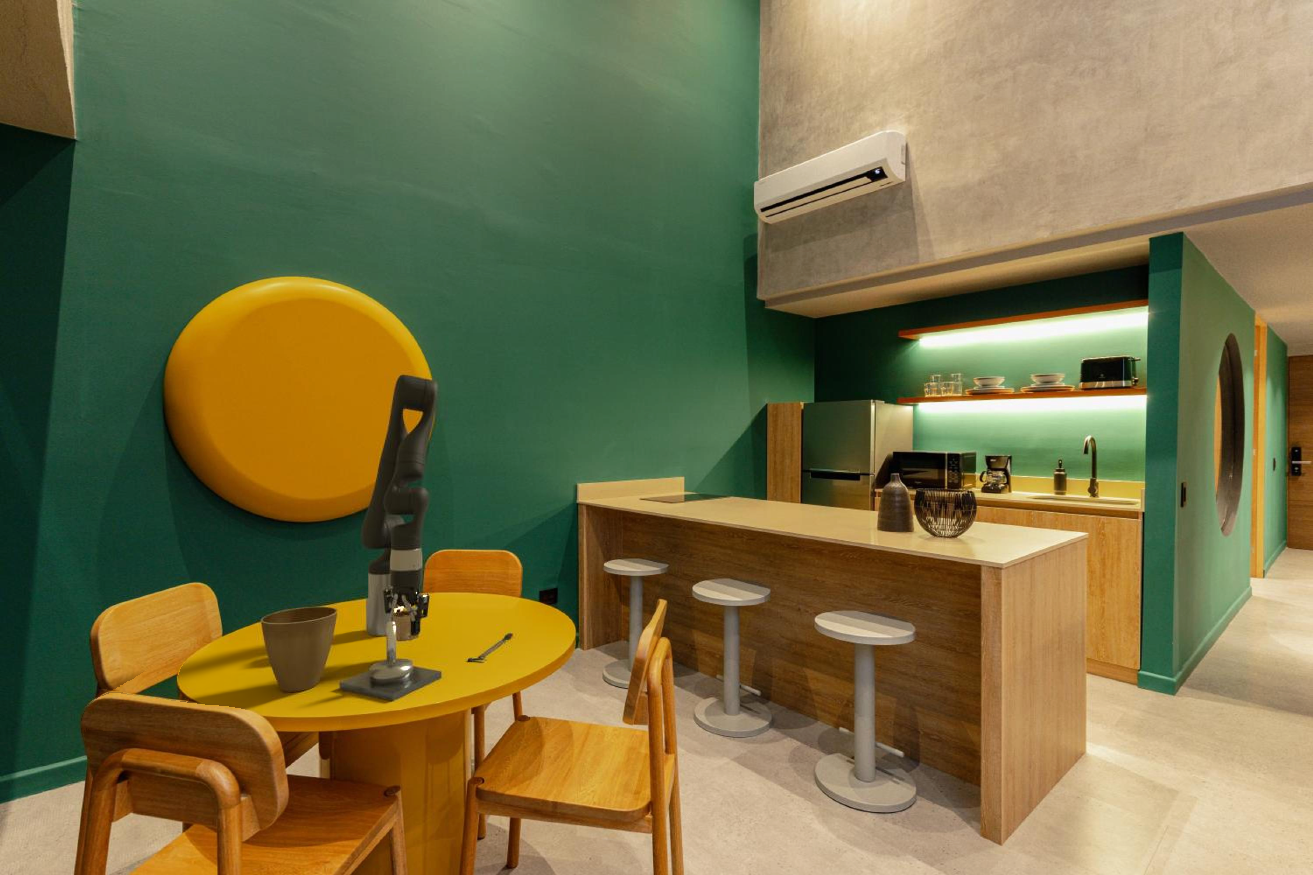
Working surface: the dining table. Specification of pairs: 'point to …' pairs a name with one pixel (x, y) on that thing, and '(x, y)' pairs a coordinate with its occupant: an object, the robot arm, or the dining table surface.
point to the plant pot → (299, 645)
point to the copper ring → (403, 626)
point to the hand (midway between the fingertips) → (405, 632)
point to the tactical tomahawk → (491, 649)
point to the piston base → (390, 688)
